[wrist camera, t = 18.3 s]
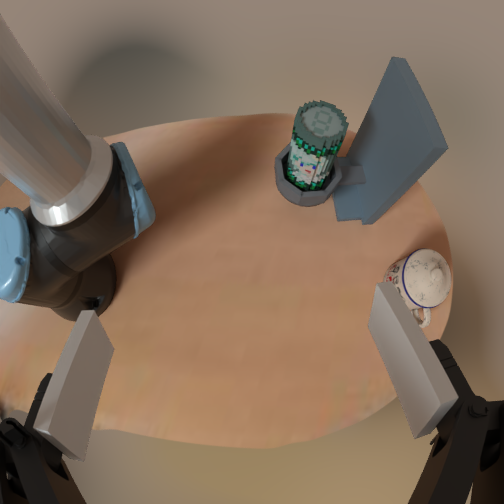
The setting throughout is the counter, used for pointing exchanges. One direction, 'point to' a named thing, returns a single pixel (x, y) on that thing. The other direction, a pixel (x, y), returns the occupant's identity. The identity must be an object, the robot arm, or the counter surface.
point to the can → (314, 144)
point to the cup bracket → (378, 152)
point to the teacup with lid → (421, 281)
